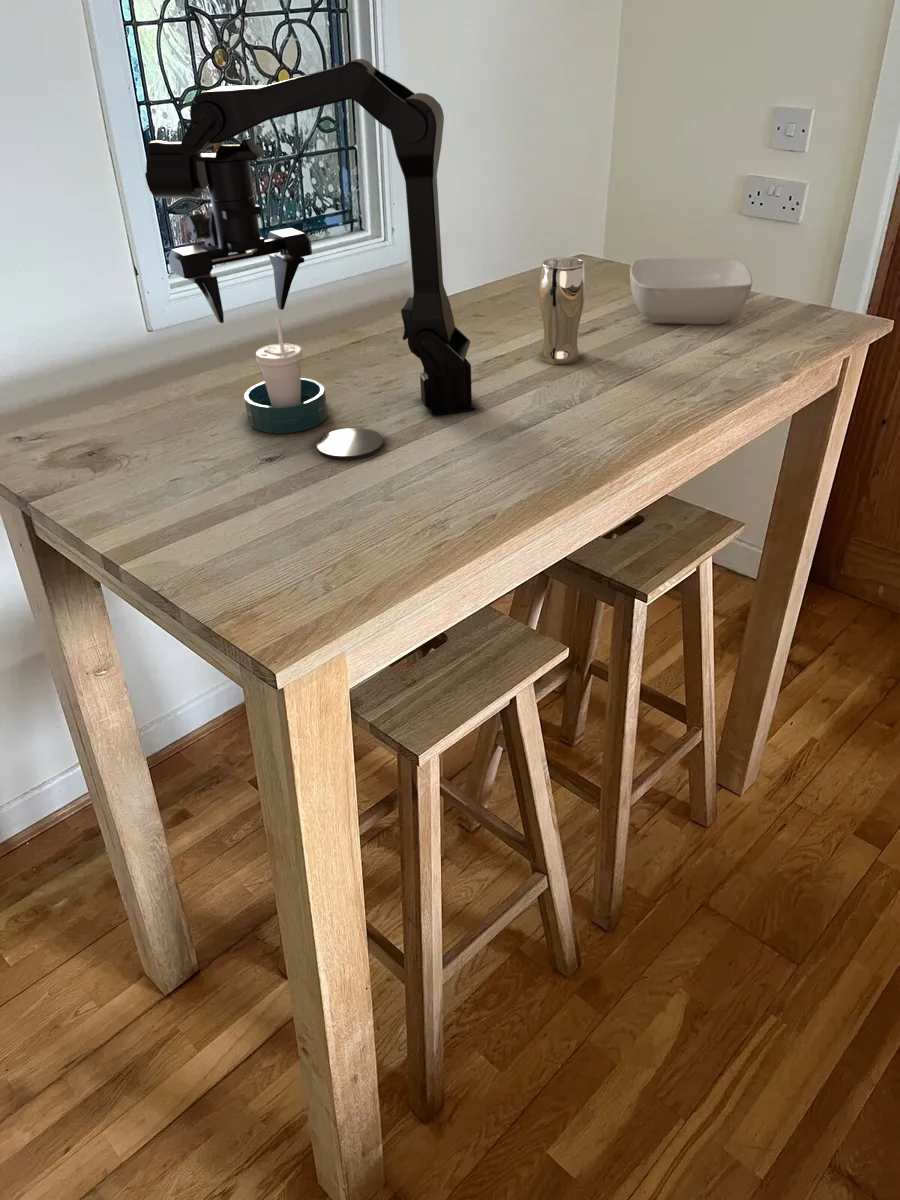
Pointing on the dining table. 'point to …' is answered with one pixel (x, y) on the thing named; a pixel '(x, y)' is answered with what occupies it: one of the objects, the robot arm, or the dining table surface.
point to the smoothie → (281, 371)
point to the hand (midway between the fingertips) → (251, 315)
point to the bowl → (689, 289)
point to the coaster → (349, 444)
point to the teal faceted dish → (286, 409)
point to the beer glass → (561, 307)
